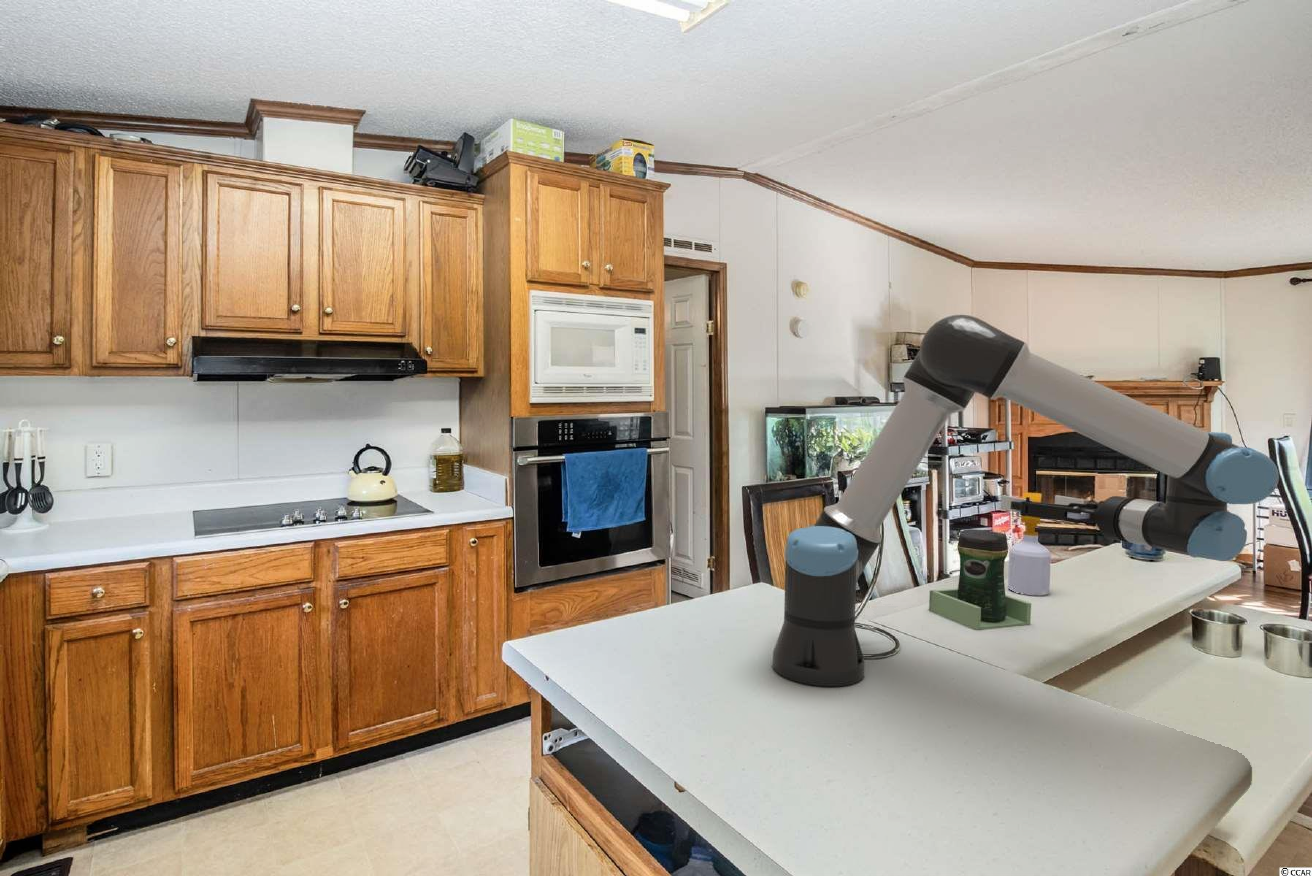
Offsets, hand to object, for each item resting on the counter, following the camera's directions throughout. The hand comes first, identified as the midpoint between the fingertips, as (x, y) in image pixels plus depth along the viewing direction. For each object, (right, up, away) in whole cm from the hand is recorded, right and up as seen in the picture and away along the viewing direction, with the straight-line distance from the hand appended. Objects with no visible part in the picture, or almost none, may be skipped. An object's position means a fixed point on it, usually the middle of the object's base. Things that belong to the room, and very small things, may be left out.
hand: (1029, 502), depth 136 cm
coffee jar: (-4, -26, +11) cm, 29 cm away
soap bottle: (+19, -26, +35) cm, 47 cm away
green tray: (-4, -26, +11) cm, 29 cm away
